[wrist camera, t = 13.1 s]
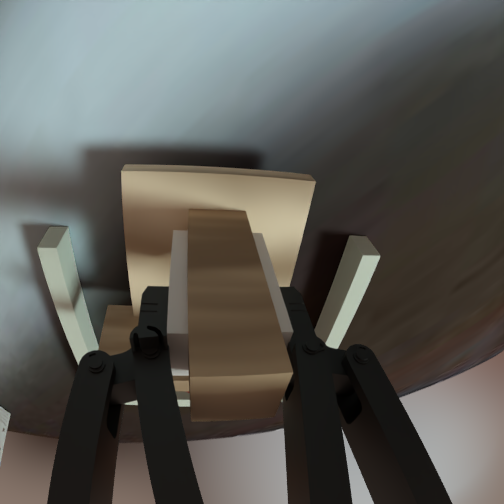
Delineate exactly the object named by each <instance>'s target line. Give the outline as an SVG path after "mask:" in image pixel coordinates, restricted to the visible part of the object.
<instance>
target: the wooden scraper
mask: <svg viewBox="0 0 504 504" xmlns="http://www.w3.org/2000/svg"><path fill="white" fill-rule="evenodd" d="M121 183H122V205H123V221H124V234H125V246H126V257H127V266H128V275H129V283H130V291H131V299H132V306H123V305H108V307H107V311H106V316H105V320H104V325H103V329H102V334H101V339H100V344H99V349H98V350H101V351H104V352H106V353H108V354H109V355H110V356H112V355H116V354H120V353H123V352H126V351H127V350H129V349H130V348H131V344H130V340H129V338H130V333H131V331H132V330H133V329H134V328H135V327H136V326H138V321H139V313H140V305H141V298H142V293H143V292H144V291H145V289H146V288H147V286H169V279H170V264H171V251H172V239H173V230H188V253H187V302H188V373H189V376H173V375H172V376H173V381H174V386H175V391H189V394H190V412H191V421H226V420H244V419H257V418H268V417H274V416H275V414H276V412H277V409H278V407H279V405H280V403H281V400H282V398H283V396H284V393H285V391H286V389H287V386H288V384H289V382H290V379H291V377H292V374H293V369H292V366H291V362H290V359H289V356H288V352H287V349H286V345H285V342H284V339H283V335H282V332H281V328H280V325H279V322H278V318H277V315H276V311H275V308H274V305H273V301H272V298H271V294H270V291H269V288H268V284H267V281H266V277H265V274H264V271H263V267H262V264H261V261H260V257H259V254H258V250H257V247H256V244H255V240H254V237H253V234H252V233H262V234H263V238H264V241H265V244H266V247H267V250H268V253H269V256H270V259H271V262H272V265H273V269H274V272H275V275H276V278H277V281H278V284H279V287H289V286H290V282H291V278H292V275H293V271H294V267H295V263H296V259H297V256H298V252H299V248H300V244H301V240H302V236H303V232H304V228H305V224H306V220H307V216H308V212H309V208H310V204H311V200H312V195H313V191H314V187H315V183H316V181H315V180H314V179H313V178H312V177H311V175H308V174H299V173H289V172H278V171H267V170H254V169H241V168H225V167H207V166H184V165H142V164H125V165H124V167H123V169H122V170H121Z"/></svg>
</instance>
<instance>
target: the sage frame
mask: <svg viewBox="0 0 504 504" xmlns="http://www.w3.org/2000/svg"><path fill="white" fill-rule="evenodd" d="M37 250H38V253H39V257H40V261H41V264H42V268H43V271H44V274H45V278H46V281H47V284H48V287H49V290H50V293H51V296H52V299H53V302H54V305H55V308H56V311H57V313H58V316H59V319H60V322H61V324H62V327H63V329H64V332H65V334H66V337H67V339H68V342H69V344H70V347H71V349H72V351H73V354H74V356H75V358H76V361H77V363H78V365H79V362H80V360H81V358H82V356H84V355H85V354H86V353H87V352H90V351H93V350H98V349H99V346H98V343H97V340H96V337H95V334H94V331H93V327H92V324H91V321H90V317H89V314H88V310H87V307H86V303H85V299H84V296H83V292H82V288H81V284H80V280H79V276H78V271H77V267H76V263H75V258H74V253H73V248H72V244H71V238H70V233H69V228H68V227H49V229H48V230H47V232H46V233H45V235H44V237H43V238H42V240H41V242H40V243H39V245H38V247H37ZM379 258H380V254H379V253H378V251H377V250H376V249H375V247H374V246H373V245H372V243H371V242H370V241H369V239H368V238H367V236H353V235H349V238H348V241H347V244H346V247H345V250H344V253H343V256H342V258H341V261H340V264H339V267H338V270H337V272H336V275H335V278H334V281H333V283H332V286H331V289H330V291H329V294H328V297H327V299H326V302H325V304H324V307H323V310H322V312H321V315H320V317H319V320H318V322H317V325H316V327H315V330H314V331H315V334H316V336H317V337H318V338H320V339H322V341H323V342H324V343H325V344H326V346H328V347H331V348H335V349H338V347H339V345H340V343H341V341H342V339H343V337H344V335H345V333H346V331H347V329H348V327H349V325H350V323H351V321H352V319H353V316H354V314H355V312H356V310H357V308H358V306H359V304H360V302H361V299H362V297H363V295H364V293H365V291H366V288H367V286H368V284H369V282H370V279H371V277H372V275H373V273H374V270H375V268H376V266H377V263H378V261H379ZM176 396H177V401H178V406H190V394H189V393H188V392H186V391H176ZM281 402H282V400H281ZM125 404H128V405H138V402H137V400H136V401H132V402H128V403H125Z"/></svg>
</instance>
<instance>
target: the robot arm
mask: <svg viewBox="0 0 504 504" xmlns="http://www.w3.org/2000/svg"><path fill="white" fill-rule="evenodd" d="M252 234H253V237H254V240H255V244H256V247H257V250H258V254H259V257H260V261H261V264H262V267H263V271H264V274H265V277H266V281H267V284H268V288H269V291H270V294H271V298H272V301H273V305H274V308H275V311H276V315H277V318H278V322H279V325H280V328H281V332H282V335H283V339H284V342H285V345H286V349H287V352H288V356H289V359H290V362H291V366H292V369H293V374H292V377H291V379H290V382H289V384H288V386H287V389H286V391H285V393H284V396H283V398H282V403H283V418H284V435H285V452H286V471H287V490H288V504H352V498H351V489H350V482H349V474H348V467H347V461H346V453H345V447H344V440H343V434H342V429H343V431H344V434H345V436H346V438H347V441H348V443H349V445H350V448H351V450H352V452H353V455H354V457H355V459H356V462H357V464H358V466H359V469H360V471H361V474H362V476H363V478H364V481H365V483H366V485H367V488H368V490H369V492H370V495H371V497H372V500H373V502H374V504H452V502H451V500H450V498H449V496H448V494H447V492H446V489H445V487H444V485H443V483H442V481H441V479H440V477H439V475H438V473H437V471H436V469H435V467H434V465H433V463H432V461H431V459H430V457H429V455H428V453H427V451H426V449H425V447H424V445H423V443H422V441H421V439H420V437H419V435H418V433H417V431H416V429H415V427H414V426H413V424H412V422H411V420H410V418H409V416H408V414H407V412H406V410H405V409H404V407H403V405H402V403H401V401H400V399H399V397H398V396H397V394H396V392H395V390H394V388H393V386H392V385H391V383H390V381H389V379H388V377H387V376H386V374H385V372H384V370H383V368H382V367H381V365H380V363H379V361H378V360H377V358H376V356H375V354H374V353H373V352H372V350H371V349H369V348H368V347H366V346H364V345H361V344H354V345H352V346H350V347H349V348H348V349H347V351H345V350H340V349H335V348H331V347H328V346H326V344H325V343H324V342H323V341H322V339H320V338H318V337H317V336H316V334H315V331H314V328H313V325H312V323H311V320H310V317H309V315H308V312H307V311H306V310H307V309H306V307H305V304H304V301H303V299H302V296H301V294H300V293H299V292H298V291H297V290H296V289H295V288H294V287H279V284H278V281H277V278H276V275H275V272H274V269H273V265H272V262H271V259H270V256H269V253H268V250H267V247H266V244H265V241H264V238H263V234H262V233H252ZM187 253H188V230H173V239H172V251H171V264H170V279H169V286H147V288H146V289H145V291H144V292H143V293H142V298H141V305H140V313H139V321H138V326H136V327H135V328H134V329H133V330H132V331H131V333H130V338H129V340H130V344H131V348H130V349H129V350H127V351H126V352H123V353H120V354H116V355H112V356H110V355H109V354H108V353H106V352H104V351H101V350H93V351H90V352H87V353H86V354H85V355H84V356H82V358H81V360H80V362H79V365H78V368H77V372H76V375H75V378H74V382H73V385H72V389H71V393H70V396H69V400H68V404H67V407H66V411H65V415H64V419H63V423H62V428H61V432H60V436H59V441H58V445H57V450H56V455H55V460H54V466H53V471H52V477H51V482H50V488H49V495H48V502H47V504H112V497H113V486H114V477H115V468H116V459H117V452H118V445H119V438H120V431H121V424H122V418H123V412H124V406H125V403H128V402H132V401H136V400H137V402H138V410H139V417H140V424H141V430H142V437H143V443H144V448H145V454H146V460H147V465H148V469H149V475H150V480H151V485H152V489H153V494H154V498H155V502H156V504H204V503H203V500H202V497H201V493H200V490H199V487H198V483H197V479H196V475H195V472H194V468H193V464H192V460H191V457H190V453H189V449H188V445H187V441H186V436H185V432H184V428H183V424H182V419H181V415H180V410H179V406H178V401H177V396H176V391H175V386H174V381H173V376H189V373H188V302H187ZM172 375H173V376H172Z"/></svg>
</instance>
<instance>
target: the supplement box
mask: <svg viewBox="0 0 504 504" xmlns="http://www.w3.org/2000/svg"><path fill="white" fill-rule="evenodd" d="M10 415H11V414H10V413H9V412H7V411H6V410H5V409H3V408H2V407H1V406H0V464H1V458H2V452H3V447H4V442H5V437H6V432H7V428H8V423H9V419H10Z"/></svg>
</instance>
